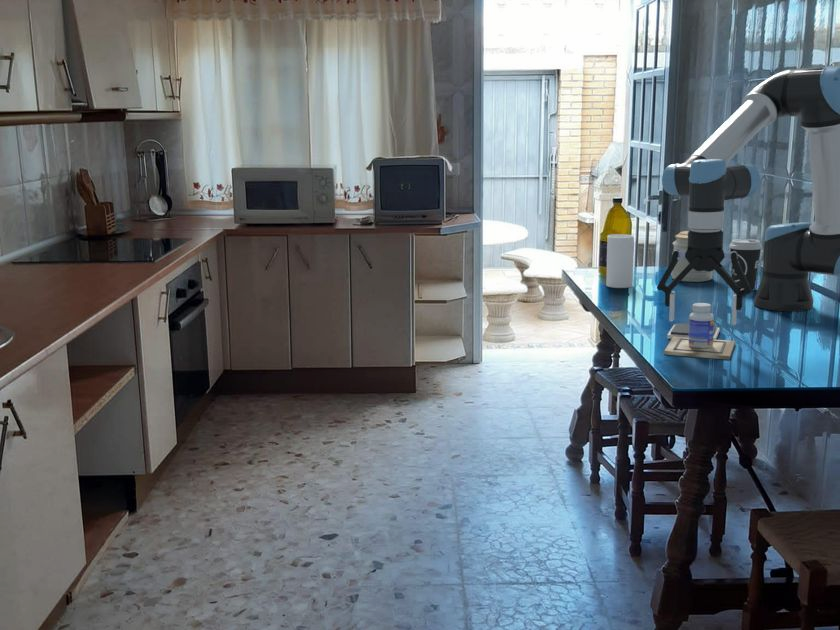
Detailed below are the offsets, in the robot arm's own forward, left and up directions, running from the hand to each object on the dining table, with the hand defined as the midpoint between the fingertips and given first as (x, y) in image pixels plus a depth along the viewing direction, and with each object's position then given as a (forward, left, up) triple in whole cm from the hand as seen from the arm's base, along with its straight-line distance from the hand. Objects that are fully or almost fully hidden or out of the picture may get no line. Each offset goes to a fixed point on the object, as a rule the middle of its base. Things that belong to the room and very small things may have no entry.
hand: (702, 322), depth 196 cm
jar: (+13, -90, -7) cm, 91 cm away
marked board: (0, 0, -6) cm, 6 cm away
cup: (+33, -72, -7) cm, 79 cm away
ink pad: (+3, -13, -6) cm, 15 cm away
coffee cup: (-4, -76, -7) cm, 76 cm away
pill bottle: (0, 0, -6) cm, 6 cm away
